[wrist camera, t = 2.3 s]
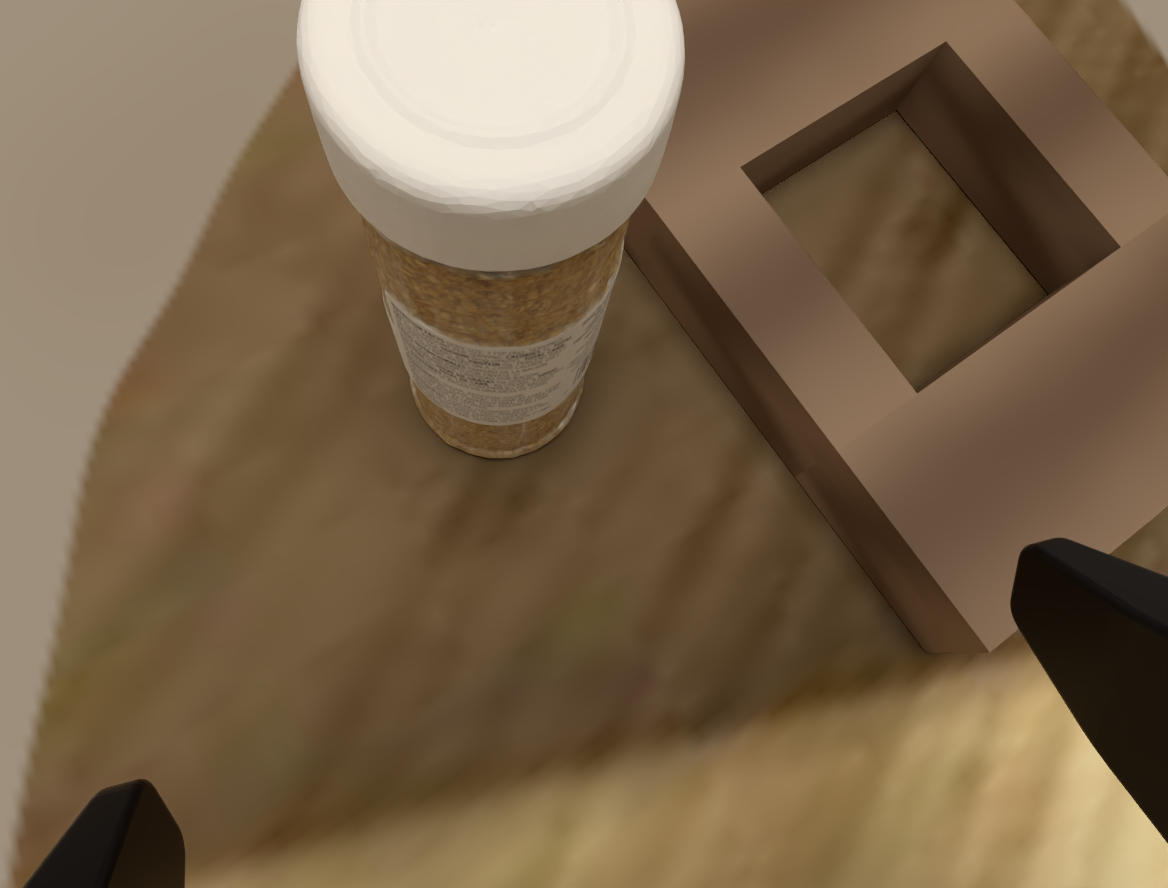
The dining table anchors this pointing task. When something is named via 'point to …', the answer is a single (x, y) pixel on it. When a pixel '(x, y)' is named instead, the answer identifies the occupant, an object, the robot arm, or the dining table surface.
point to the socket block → (850, 353)
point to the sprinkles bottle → (494, 185)
